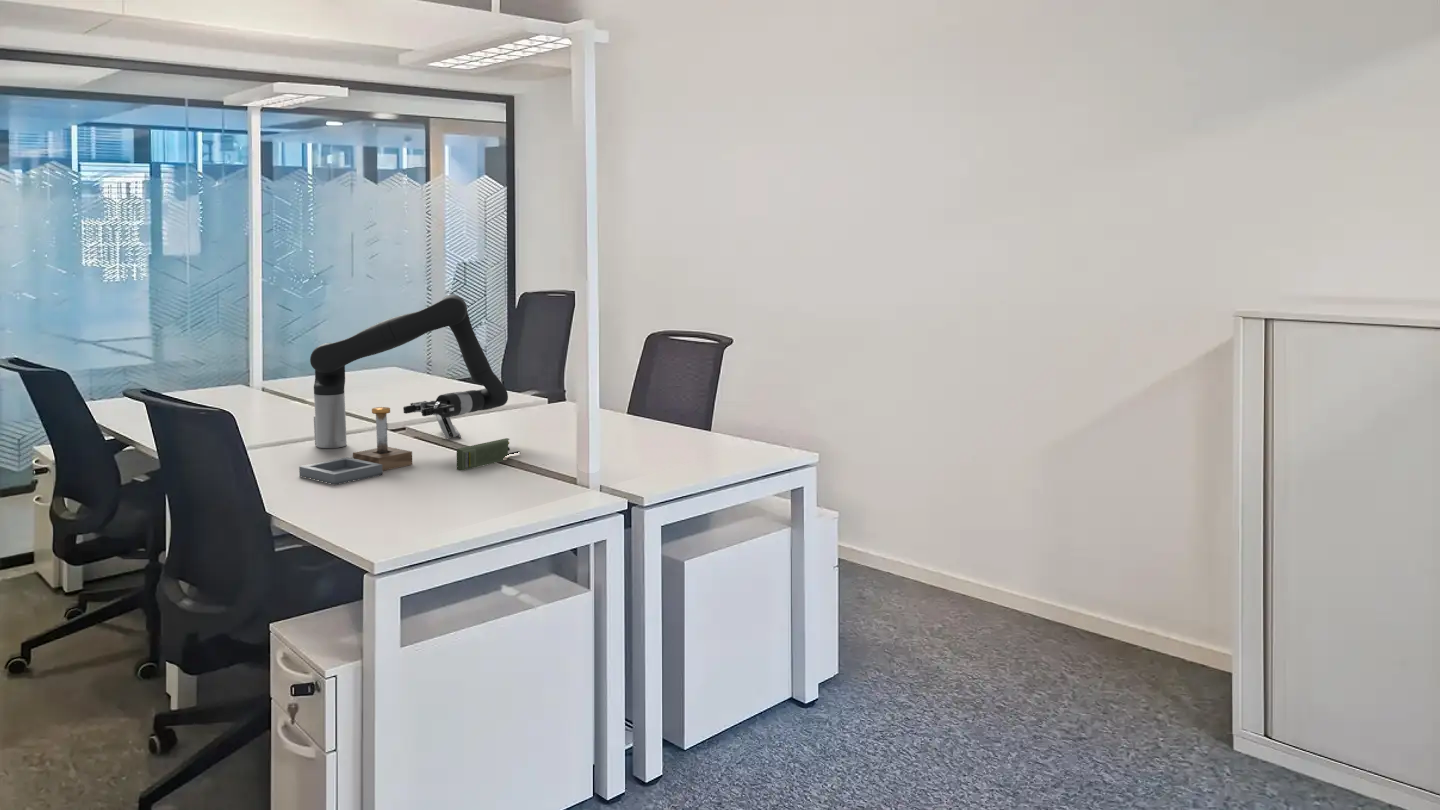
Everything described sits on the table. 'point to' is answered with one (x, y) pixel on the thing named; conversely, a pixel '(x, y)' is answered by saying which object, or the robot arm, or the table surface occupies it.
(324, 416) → the robot arm
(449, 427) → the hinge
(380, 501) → the table surface
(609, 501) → the table surface
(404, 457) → the socket block
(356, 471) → the tray
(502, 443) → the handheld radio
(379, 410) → the pin
